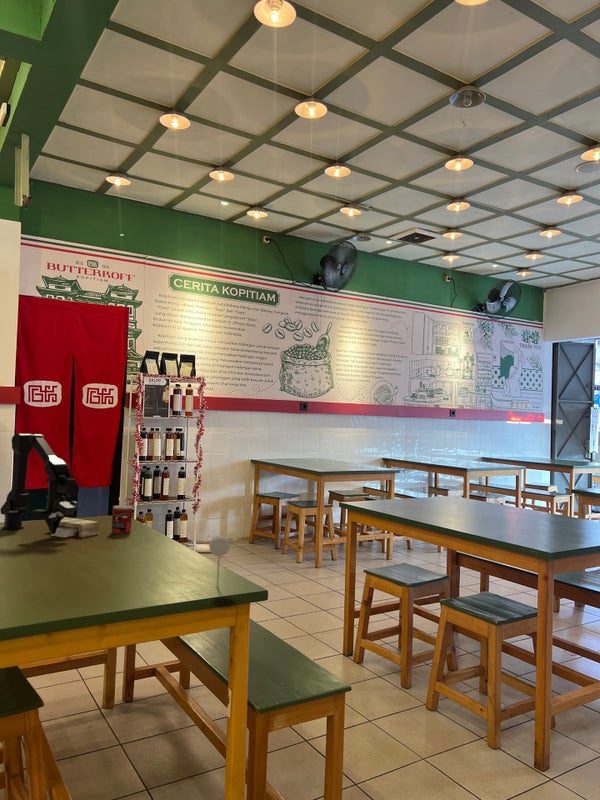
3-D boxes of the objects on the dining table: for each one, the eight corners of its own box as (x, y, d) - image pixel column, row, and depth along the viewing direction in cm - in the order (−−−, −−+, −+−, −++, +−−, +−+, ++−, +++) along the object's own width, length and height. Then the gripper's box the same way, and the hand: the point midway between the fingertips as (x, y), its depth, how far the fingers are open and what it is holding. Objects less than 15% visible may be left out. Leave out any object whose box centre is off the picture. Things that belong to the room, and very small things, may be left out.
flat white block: (51, 535, 240) (51, 529, 240) (73, 531, 250) (73, 525, 251) (64, 537, 237) (64, 531, 237) (86, 533, 248) (86, 527, 248)
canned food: (107, 533, 249) (109, 506, 250) (118, 530, 257) (120, 504, 257) (123, 535, 247) (125, 508, 248) (134, 532, 255) (135, 506, 255)
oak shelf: (48, 532, 246) (49, 519, 246) (65, 529, 254) (65, 517, 254) (82, 537, 238) (83, 524, 239) (98, 534, 247) (99, 521, 247)
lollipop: (218, 583, 181) (220, 533, 181) (231, 587, 177) (234, 536, 177) (202, 587, 176) (205, 535, 176) (216, 591, 172) (219, 539, 173)
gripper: (52, 498, 225) (50, 540, 224) (88, 494, 242) (86, 533, 242) (30, 495, 229) (28, 536, 229) (67, 491, 247) (64, 529, 246)
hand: (53, 534), depth 236 cm, fingers closed
